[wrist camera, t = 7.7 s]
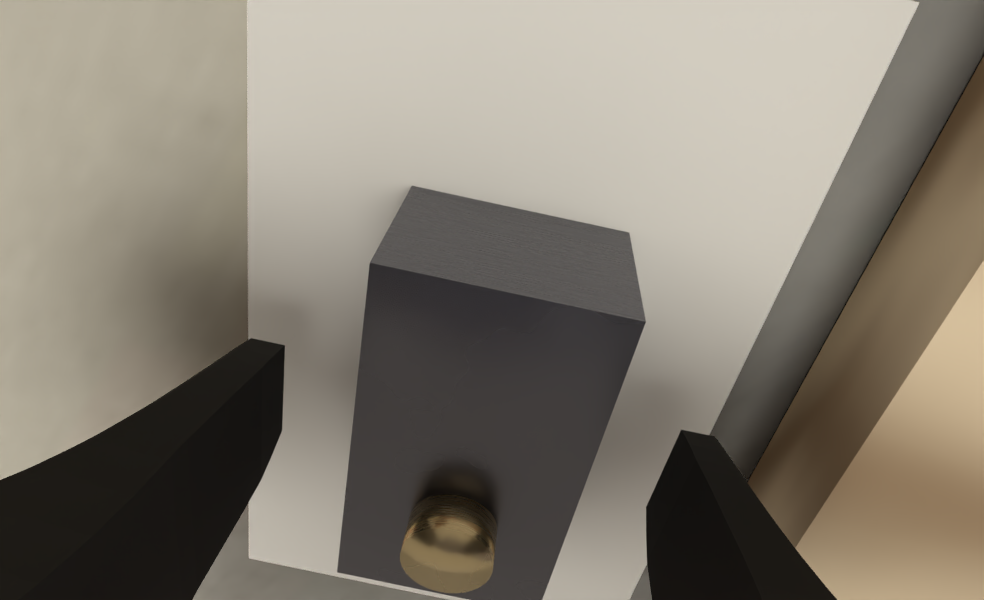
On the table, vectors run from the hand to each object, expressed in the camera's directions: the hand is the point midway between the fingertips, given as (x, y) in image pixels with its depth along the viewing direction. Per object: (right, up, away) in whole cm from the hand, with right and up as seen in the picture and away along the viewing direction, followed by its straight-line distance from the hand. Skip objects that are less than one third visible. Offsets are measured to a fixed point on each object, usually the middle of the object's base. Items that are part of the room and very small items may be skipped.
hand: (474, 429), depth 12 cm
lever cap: (0, +1, +2) cm, 2 cm away
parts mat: (0, +1, +2) cm, 2 cm away
